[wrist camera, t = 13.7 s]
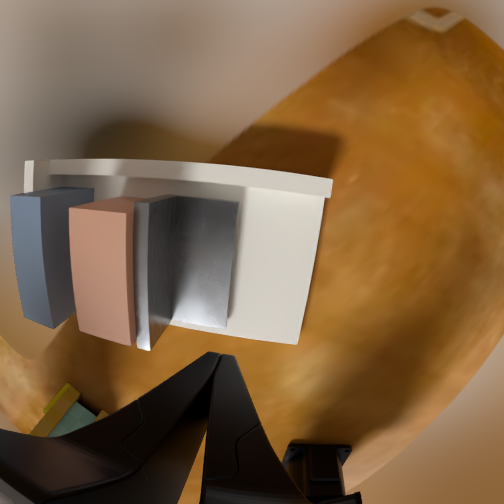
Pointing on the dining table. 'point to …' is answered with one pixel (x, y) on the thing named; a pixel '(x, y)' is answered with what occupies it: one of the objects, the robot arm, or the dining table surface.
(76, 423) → the book
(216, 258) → the bookend
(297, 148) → the dining table surface
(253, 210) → the shelf
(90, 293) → the book block
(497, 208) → the dining table surface
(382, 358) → the dining table surface
